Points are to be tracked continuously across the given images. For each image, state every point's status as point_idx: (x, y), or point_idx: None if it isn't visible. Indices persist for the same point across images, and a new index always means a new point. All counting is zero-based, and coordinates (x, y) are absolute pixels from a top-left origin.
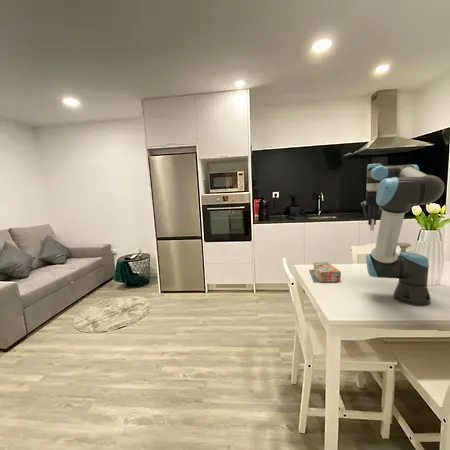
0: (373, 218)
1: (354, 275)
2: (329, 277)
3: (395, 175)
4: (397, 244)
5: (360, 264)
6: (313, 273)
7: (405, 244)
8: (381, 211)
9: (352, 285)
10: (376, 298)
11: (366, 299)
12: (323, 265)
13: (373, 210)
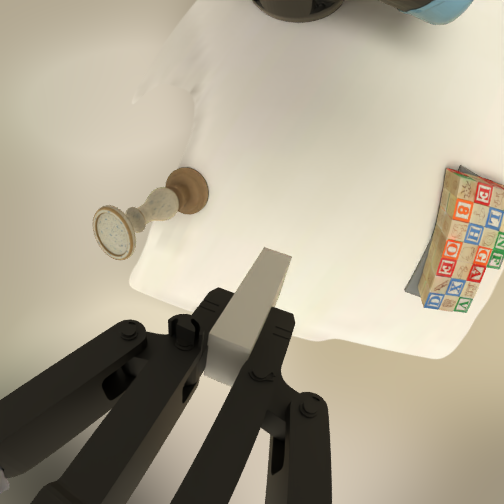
0: (199, 369)
1: (350, 223)
2: (486, 181)
3: None
4: (132, 240)
5: None
6: None
7: (107, 230)
8: (33, 380)
9: (423, 124)
10: None
11: None
12: (465, 271)
13: (134, 481)
